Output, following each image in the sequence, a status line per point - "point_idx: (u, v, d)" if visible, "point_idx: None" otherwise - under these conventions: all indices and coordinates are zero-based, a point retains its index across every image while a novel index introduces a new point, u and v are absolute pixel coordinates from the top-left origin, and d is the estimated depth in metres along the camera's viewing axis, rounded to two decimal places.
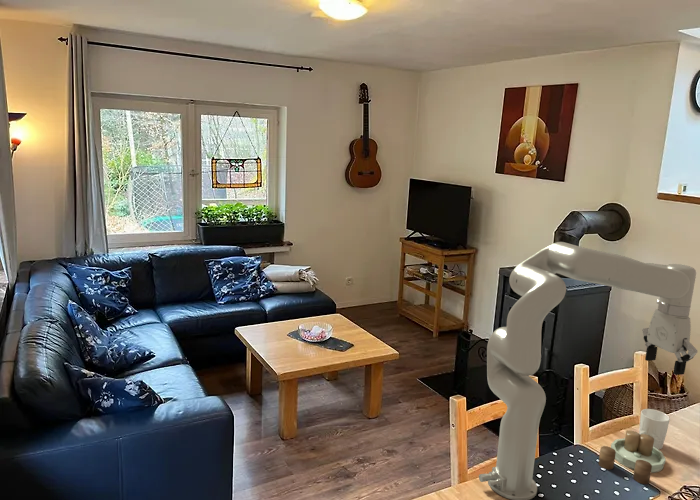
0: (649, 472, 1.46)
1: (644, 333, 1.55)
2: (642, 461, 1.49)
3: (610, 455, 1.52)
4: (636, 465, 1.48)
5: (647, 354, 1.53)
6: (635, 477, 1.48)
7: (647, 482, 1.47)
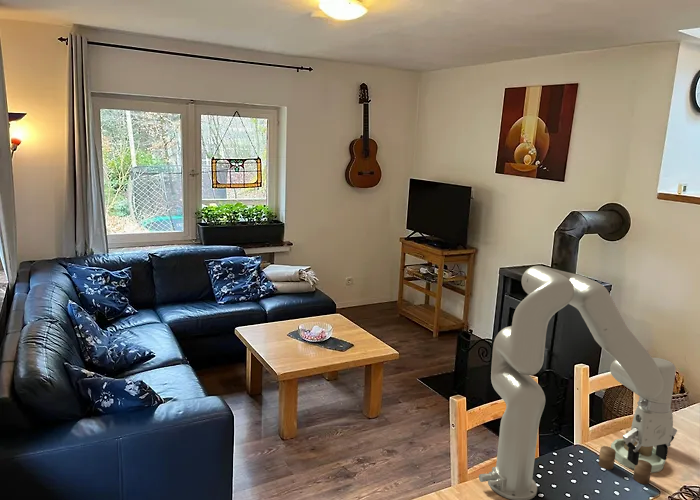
0: (649, 472, 1.46)
1: (629, 441, 1.44)
2: (642, 461, 1.49)
3: (610, 455, 1.52)
4: (636, 465, 1.48)
5: (638, 458, 1.45)
6: (635, 477, 1.48)
7: (647, 482, 1.47)
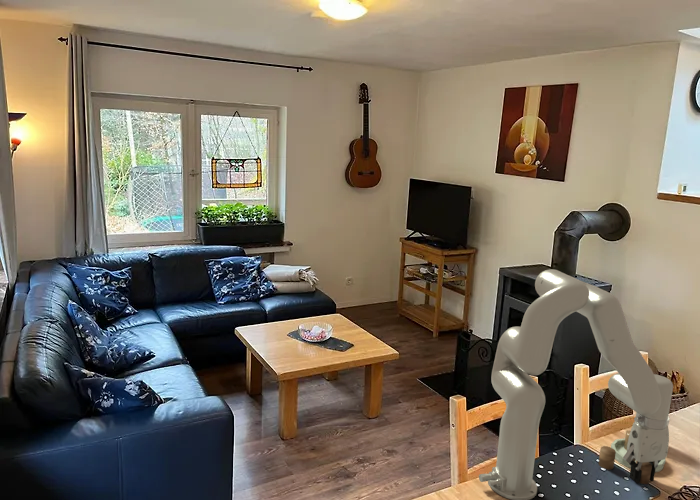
0: (649, 472, 1.46)
1: (630, 460, 1.45)
2: None
3: (610, 455, 1.52)
4: None
5: (640, 477, 1.46)
6: None
7: (647, 482, 1.47)
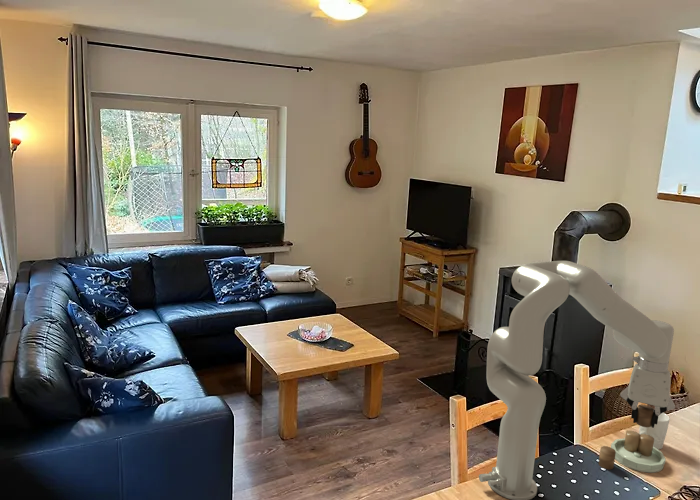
0: (646, 415, 1.51)
1: (625, 397, 1.54)
2: (648, 406, 1.53)
3: (610, 455, 1.52)
4: None
5: (635, 417, 1.53)
6: None
7: (644, 425, 1.52)
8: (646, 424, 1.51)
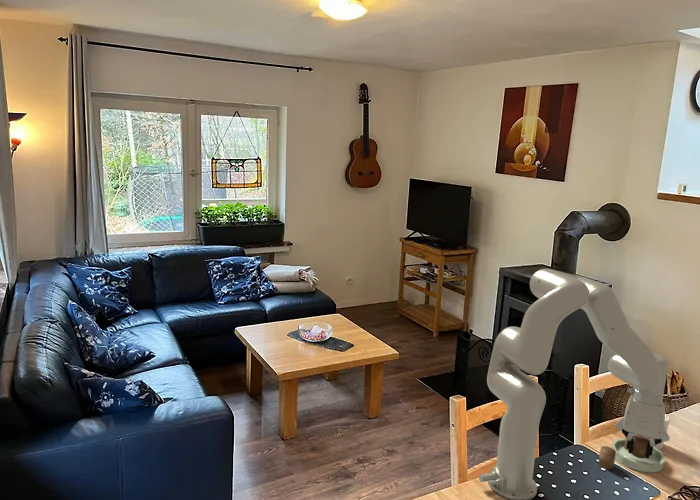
0: (641, 446, 1.53)
1: (620, 428, 1.56)
2: (643, 437, 1.55)
3: (610, 455, 1.52)
4: None
5: (631, 447, 1.55)
6: None
7: (639, 456, 1.54)
8: (641, 455, 1.53)
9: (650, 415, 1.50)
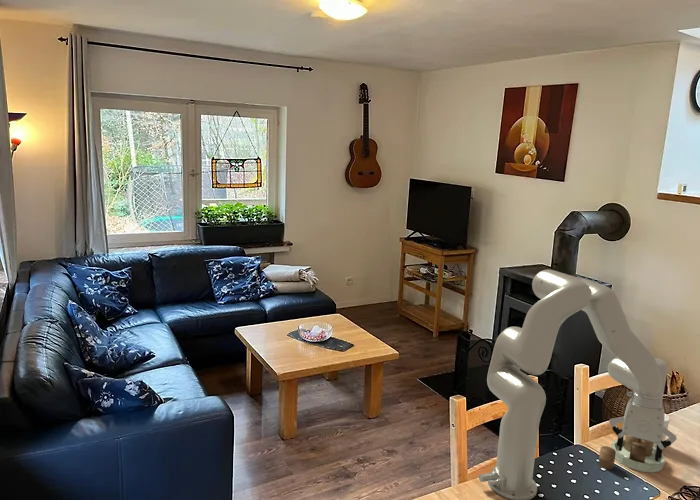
0: (639, 453, 1.53)
1: (613, 424, 1.57)
2: (641, 444, 1.55)
3: (610, 455, 1.52)
4: None
5: (621, 445, 1.56)
6: (629, 456, 1.57)
7: None
8: None
9: (649, 419, 1.50)
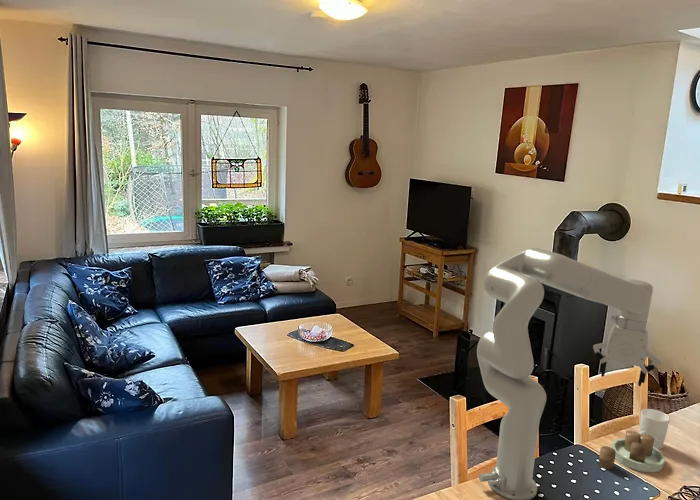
0: (639, 453, 1.53)
1: (596, 350, 1.55)
2: (641, 444, 1.55)
3: (610, 455, 1.52)
4: None
5: (603, 370, 1.54)
6: (629, 456, 1.57)
7: None
8: None
9: (633, 341, 1.48)
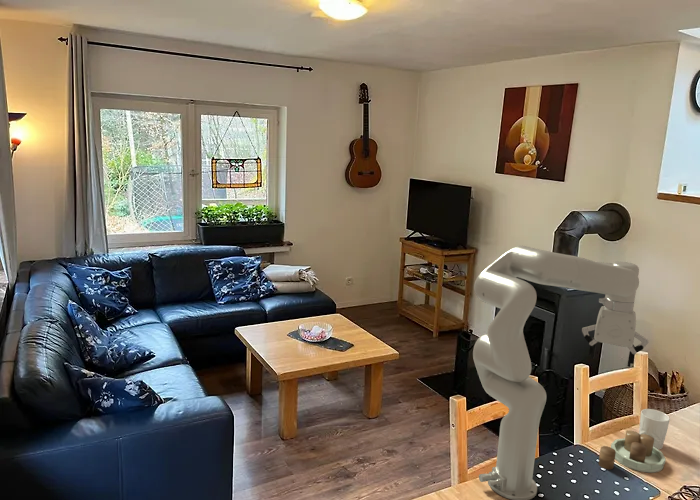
0: (639, 453, 1.53)
1: (585, 333, 1.56)
2: (641, 444, 1.55)
3: (610, 455, 1.52)
4: None
5: (593, 353, 1.55)
6: (629, 456, 1.57)
7: None
8: None
9: (621, 323, 1.49)
